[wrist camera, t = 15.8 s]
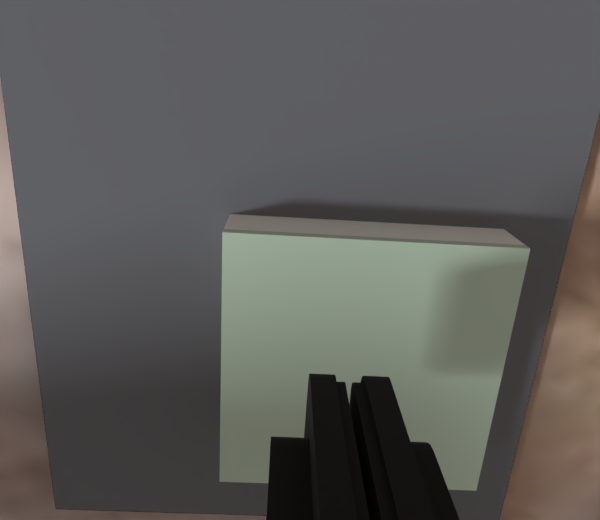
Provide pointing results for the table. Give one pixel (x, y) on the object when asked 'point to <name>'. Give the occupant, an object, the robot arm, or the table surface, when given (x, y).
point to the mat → (265, 195)
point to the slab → (364, 330)
